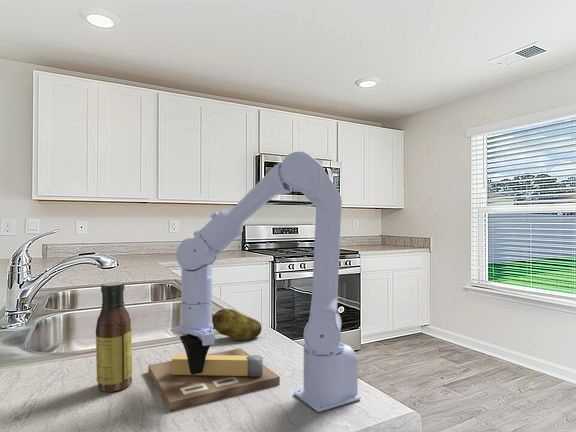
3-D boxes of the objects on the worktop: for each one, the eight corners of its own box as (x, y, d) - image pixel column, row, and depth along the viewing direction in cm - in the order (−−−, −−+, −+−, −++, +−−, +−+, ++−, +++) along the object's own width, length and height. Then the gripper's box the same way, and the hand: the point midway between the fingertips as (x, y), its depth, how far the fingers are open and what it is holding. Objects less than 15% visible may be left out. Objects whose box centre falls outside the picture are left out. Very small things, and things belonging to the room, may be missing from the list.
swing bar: (263, 370, 76) (263, 355, 76) (261, 376, 73) (261, 361, 73) (176, 368, 76) (176, 354, 76) (171, 375, 73) (171, 359, 73)
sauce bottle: (122, 376, 77) (123, 279, 77) (138, 385, 73) (139, 282, 73) (89, 387, 72) (90, 283, 72) (104, 397, 68) (105, 286, 68)
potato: (256, 344, 97) (256, 313, 98) (208, 342, 99) (208, 311, 99) (263, 335, 106) (263, 306, 106) (218, 333, 107) (219, 305, 108)
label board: (240, 354, 90) (240, 347, 90) (279, 384, 74) (279, 376, 74) (148, 372, 79) (148, 364, 79) (169, 411, 63) (169, 401, 63)
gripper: (166, 297, 76) (166, 364, 76) (186, 311, 64) (186, 392, 64) (200, 293, 80) (200, 358, 80) (225, 306, 67) (225, 383, 67)
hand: (196, 373), depth 72 cm, fingers closed
